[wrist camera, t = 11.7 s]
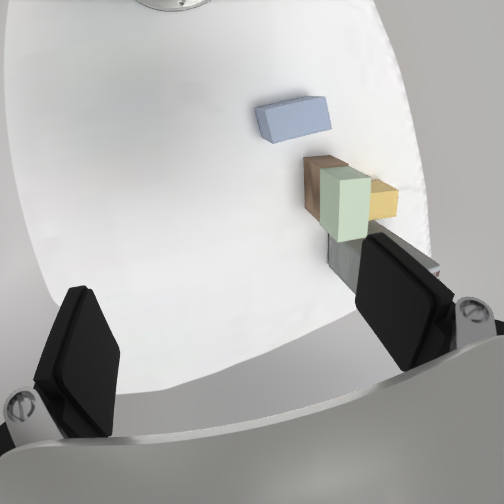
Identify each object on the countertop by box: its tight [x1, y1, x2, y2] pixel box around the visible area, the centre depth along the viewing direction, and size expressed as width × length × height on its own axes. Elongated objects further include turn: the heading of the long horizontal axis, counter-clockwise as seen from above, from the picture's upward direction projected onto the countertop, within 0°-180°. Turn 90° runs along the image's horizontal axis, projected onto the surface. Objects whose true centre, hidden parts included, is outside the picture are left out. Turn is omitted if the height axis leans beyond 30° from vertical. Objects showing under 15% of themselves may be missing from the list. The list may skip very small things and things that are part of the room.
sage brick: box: [320, 166, 371, 243], centre depth 33 cm, size 7×4×5 cm, turn 5°
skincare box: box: [329, 220, 441, 295], centre depth 38 cm, size 8×7×16 cm
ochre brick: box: [369, 180, 399, 221], centre depth 39 cm, size 7×4×5 cm, turn 95°
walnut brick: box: [304, 155, 348, 222], centre depth 37 cm, size 7×4×5 cm, turn 5°
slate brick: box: [254, 96, 332, 144], centre depth 32 cm, size 7×4×5 cm, turn 105°
